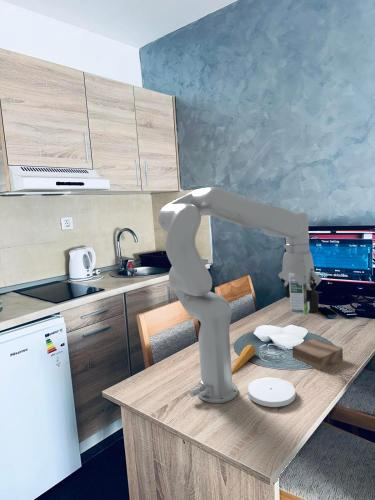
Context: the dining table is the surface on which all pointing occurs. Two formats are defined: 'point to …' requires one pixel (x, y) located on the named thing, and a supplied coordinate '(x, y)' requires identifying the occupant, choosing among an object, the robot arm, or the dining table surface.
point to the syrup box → (298, 296)
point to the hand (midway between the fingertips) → (299, 298)
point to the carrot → (244, 357)
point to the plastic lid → (271, 392)
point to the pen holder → (314, 302)
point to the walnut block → (318, 354)
